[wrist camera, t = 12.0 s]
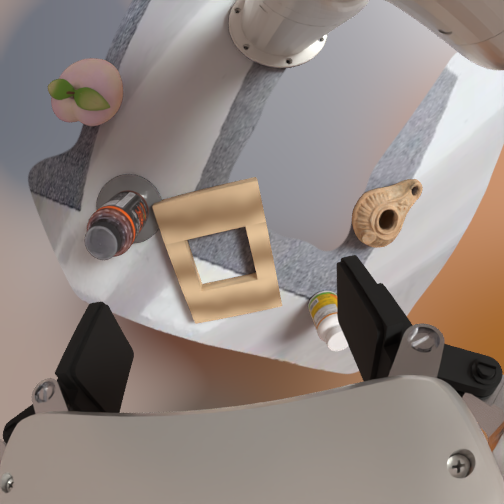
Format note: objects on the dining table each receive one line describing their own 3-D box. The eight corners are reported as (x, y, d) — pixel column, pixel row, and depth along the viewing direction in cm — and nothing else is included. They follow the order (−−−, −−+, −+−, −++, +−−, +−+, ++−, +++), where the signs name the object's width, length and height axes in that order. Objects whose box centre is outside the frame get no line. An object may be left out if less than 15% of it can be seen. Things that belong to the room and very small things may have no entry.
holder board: (155, 201, 39) (152, 206, 37) (255, 177, 39) (257, 180, 37) (196, 315, 48) (195, 323, 46) (280, 298, 48) (282, 306, 46)
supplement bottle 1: (153, 227, 40) (131, 268, 30) (115, 231, 40) (84, 271, 30) (146, 186, 37) (119, 215, 27) (107, 191, 37) (70, 221, 27)
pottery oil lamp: (422, 197, 41) (438, 232, 37) (358, 223, 47) (367, 259, 43) (412, 159, 35) (432, 195, 31) (338, 191, 41) (348, 229, 37)
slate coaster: (89, 186, 37) (87, 187, 36) (151, 165, 37) (150, 166, 36) (112, 248, 41) (110, 250, 41) (172, 232, 41) (171, 234, 41)
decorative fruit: (143, 68, 31) (117, 56, 22) (126, 127, 34) (96, 133, 25) (83, 61, 29) (45, 52, 20) (68, 116, 32) (28, 122, 23)
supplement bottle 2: (339, 309, 50) (358, 347, 41) (310, 319, 50) (324, 358, 42) (336, 285, 48) (357, 323, 39) (305, 295, 48) (320, 334, 39)
